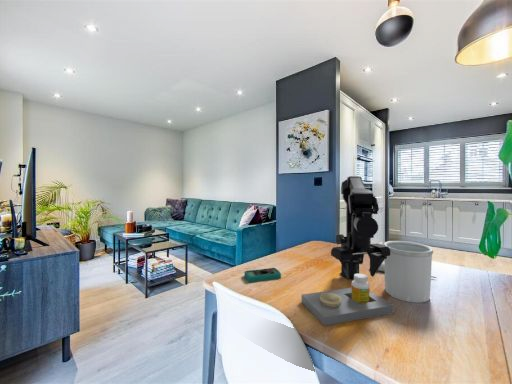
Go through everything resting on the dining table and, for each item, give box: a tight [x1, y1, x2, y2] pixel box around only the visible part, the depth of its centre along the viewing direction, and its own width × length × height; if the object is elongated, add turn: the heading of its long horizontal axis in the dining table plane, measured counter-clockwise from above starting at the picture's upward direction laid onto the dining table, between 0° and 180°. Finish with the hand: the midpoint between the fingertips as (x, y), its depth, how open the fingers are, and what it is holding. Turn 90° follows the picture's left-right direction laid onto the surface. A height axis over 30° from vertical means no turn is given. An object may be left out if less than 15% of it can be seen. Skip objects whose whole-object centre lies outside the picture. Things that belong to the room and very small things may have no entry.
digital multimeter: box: [244, 267, 282, 283], centre depth 101 cm, size 7×15×3 cm, turn 107°
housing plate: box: [301, 286, 394, 327], centre depth 77 cm, size 24×14×4 cm, turn 106°
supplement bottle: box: [351, 273, 371, 304], centre depth 78 cm, size 5×5×10 cm
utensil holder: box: [383, 240, 434, 304], centre depth 86 cm, size 15×15×18 cm
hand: (360, 277), depth 78 cm, fingers open, 9 cm apart
